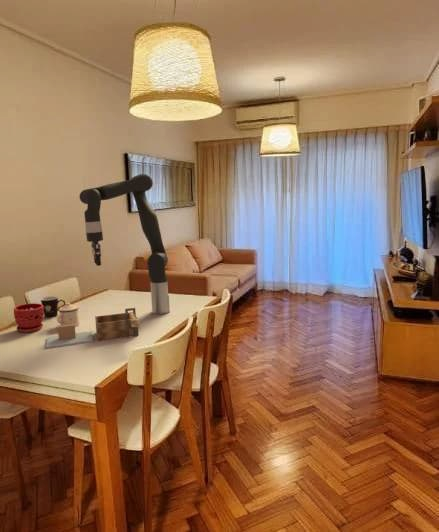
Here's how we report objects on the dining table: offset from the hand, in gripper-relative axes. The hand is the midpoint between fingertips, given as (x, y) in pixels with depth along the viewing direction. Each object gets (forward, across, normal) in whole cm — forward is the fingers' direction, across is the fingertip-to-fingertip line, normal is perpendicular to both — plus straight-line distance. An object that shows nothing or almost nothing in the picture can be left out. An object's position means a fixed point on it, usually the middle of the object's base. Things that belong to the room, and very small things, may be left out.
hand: (97, 264), depth 190 cm
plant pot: (+30, -10, -34) cm, 46 cm away
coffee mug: (+30, -30, -24) cm, 48 cm away
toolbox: (+32, +16, +4) cm, 36 cm away
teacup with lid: (+31, -7, -17) cm, 36 cm away
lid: (+31, +14, -17) cm, 39 cm away
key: (+22, +32, +9) cm, 40 cm away
